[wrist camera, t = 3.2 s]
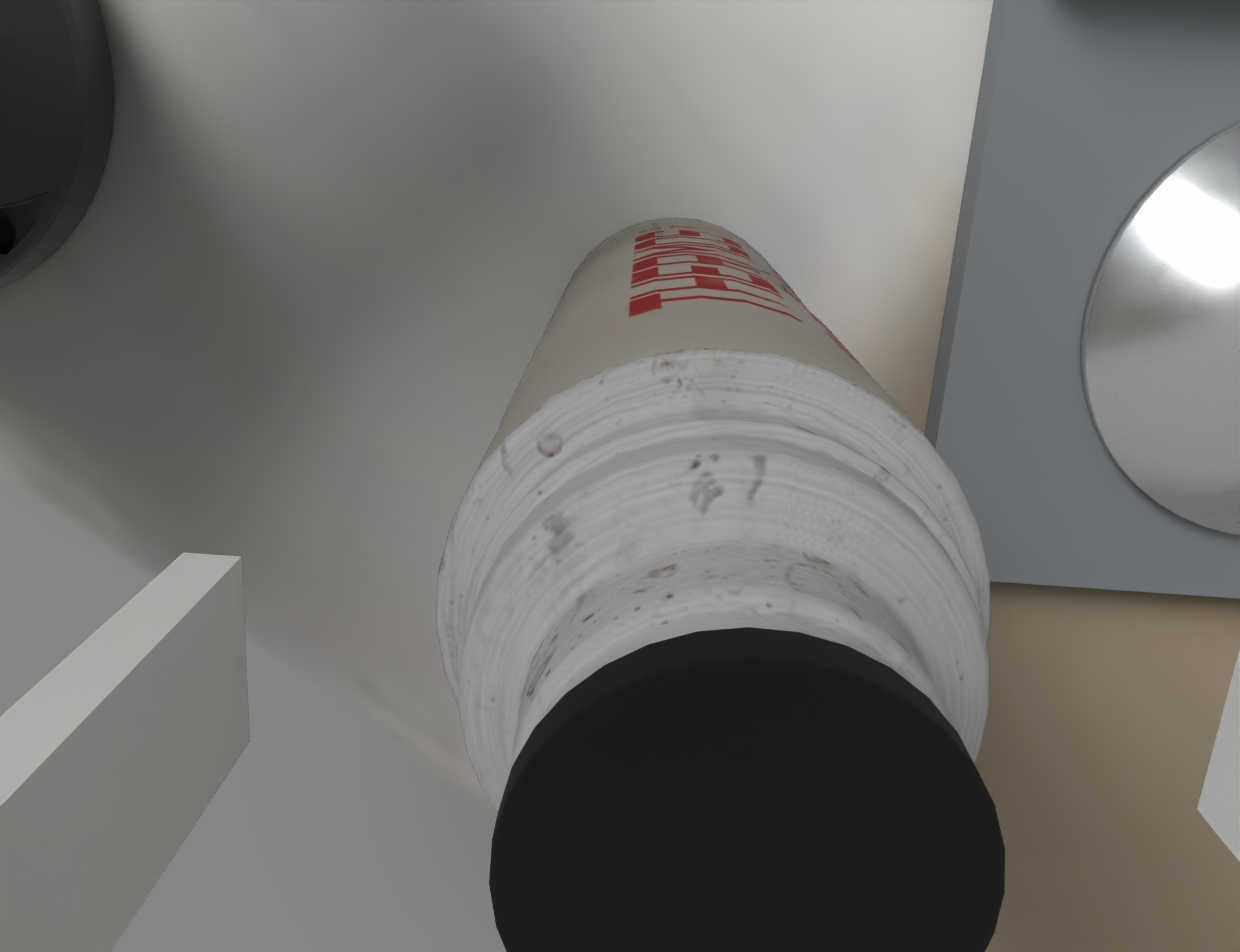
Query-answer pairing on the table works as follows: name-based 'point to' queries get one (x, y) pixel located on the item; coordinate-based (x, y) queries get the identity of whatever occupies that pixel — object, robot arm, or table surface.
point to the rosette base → (1100, 299)
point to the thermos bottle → (719, 630)
